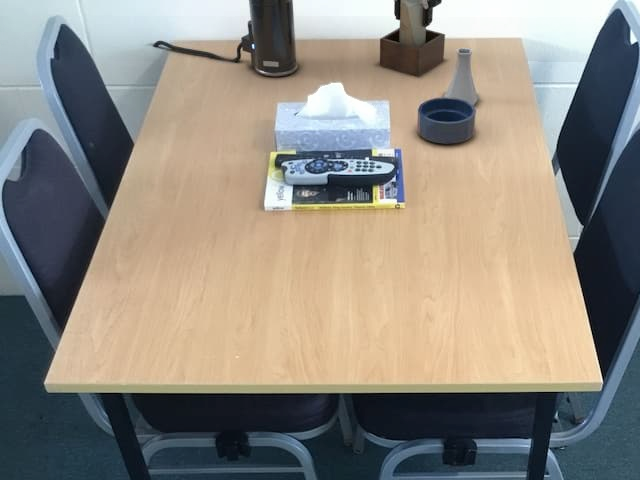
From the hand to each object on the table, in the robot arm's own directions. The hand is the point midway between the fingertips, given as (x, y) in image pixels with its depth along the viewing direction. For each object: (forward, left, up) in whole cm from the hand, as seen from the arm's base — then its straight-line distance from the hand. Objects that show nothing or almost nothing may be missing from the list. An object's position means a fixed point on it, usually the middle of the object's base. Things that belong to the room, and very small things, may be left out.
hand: (412, 22), depth 187 cm
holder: (0, 0, -9) cm, 9 cm away
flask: (+19, -10, -9) cm, 23 cm away
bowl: (+24, -24, -9) cm, 35 cm away
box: (0, 0, -7) cm, 7 cm away
